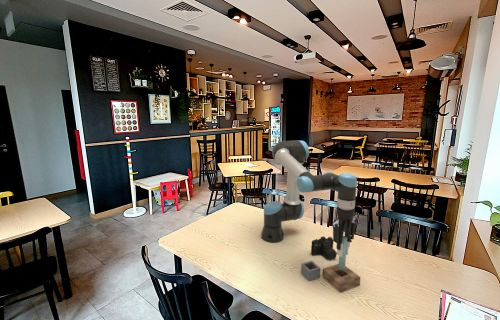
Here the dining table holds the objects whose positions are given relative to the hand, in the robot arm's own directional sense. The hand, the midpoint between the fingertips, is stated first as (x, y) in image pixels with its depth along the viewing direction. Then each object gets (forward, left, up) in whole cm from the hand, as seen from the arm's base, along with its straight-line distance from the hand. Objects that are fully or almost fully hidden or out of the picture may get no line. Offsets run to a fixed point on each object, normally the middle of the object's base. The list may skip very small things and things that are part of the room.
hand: (342, 254), depth 111 cm
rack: (0, 0, -15) cm, 15 cm away
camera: (-20, +8, -15) cm, 26 cm away
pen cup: (-9, -11, -15) cm, 20 cm away
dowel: (0, 0, -7) cm, 7 cm away
